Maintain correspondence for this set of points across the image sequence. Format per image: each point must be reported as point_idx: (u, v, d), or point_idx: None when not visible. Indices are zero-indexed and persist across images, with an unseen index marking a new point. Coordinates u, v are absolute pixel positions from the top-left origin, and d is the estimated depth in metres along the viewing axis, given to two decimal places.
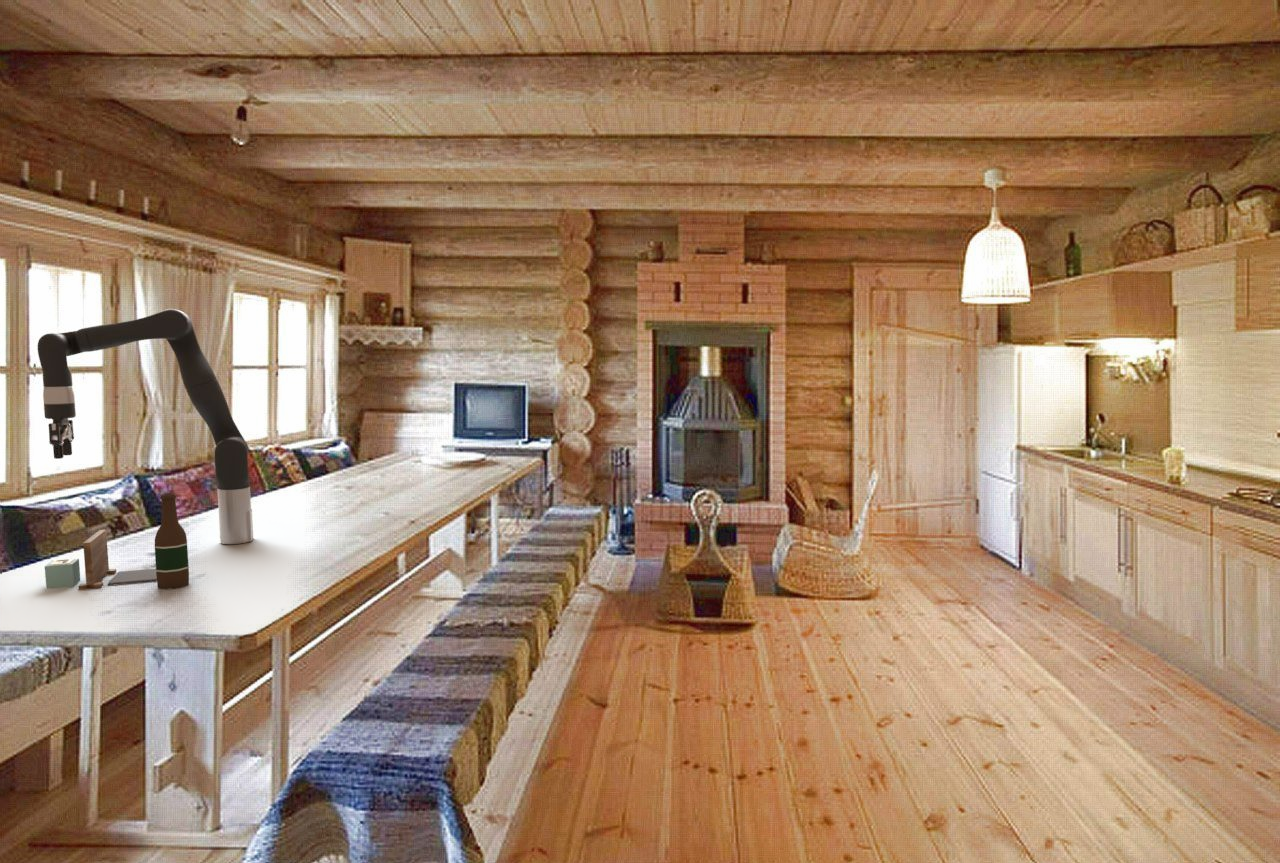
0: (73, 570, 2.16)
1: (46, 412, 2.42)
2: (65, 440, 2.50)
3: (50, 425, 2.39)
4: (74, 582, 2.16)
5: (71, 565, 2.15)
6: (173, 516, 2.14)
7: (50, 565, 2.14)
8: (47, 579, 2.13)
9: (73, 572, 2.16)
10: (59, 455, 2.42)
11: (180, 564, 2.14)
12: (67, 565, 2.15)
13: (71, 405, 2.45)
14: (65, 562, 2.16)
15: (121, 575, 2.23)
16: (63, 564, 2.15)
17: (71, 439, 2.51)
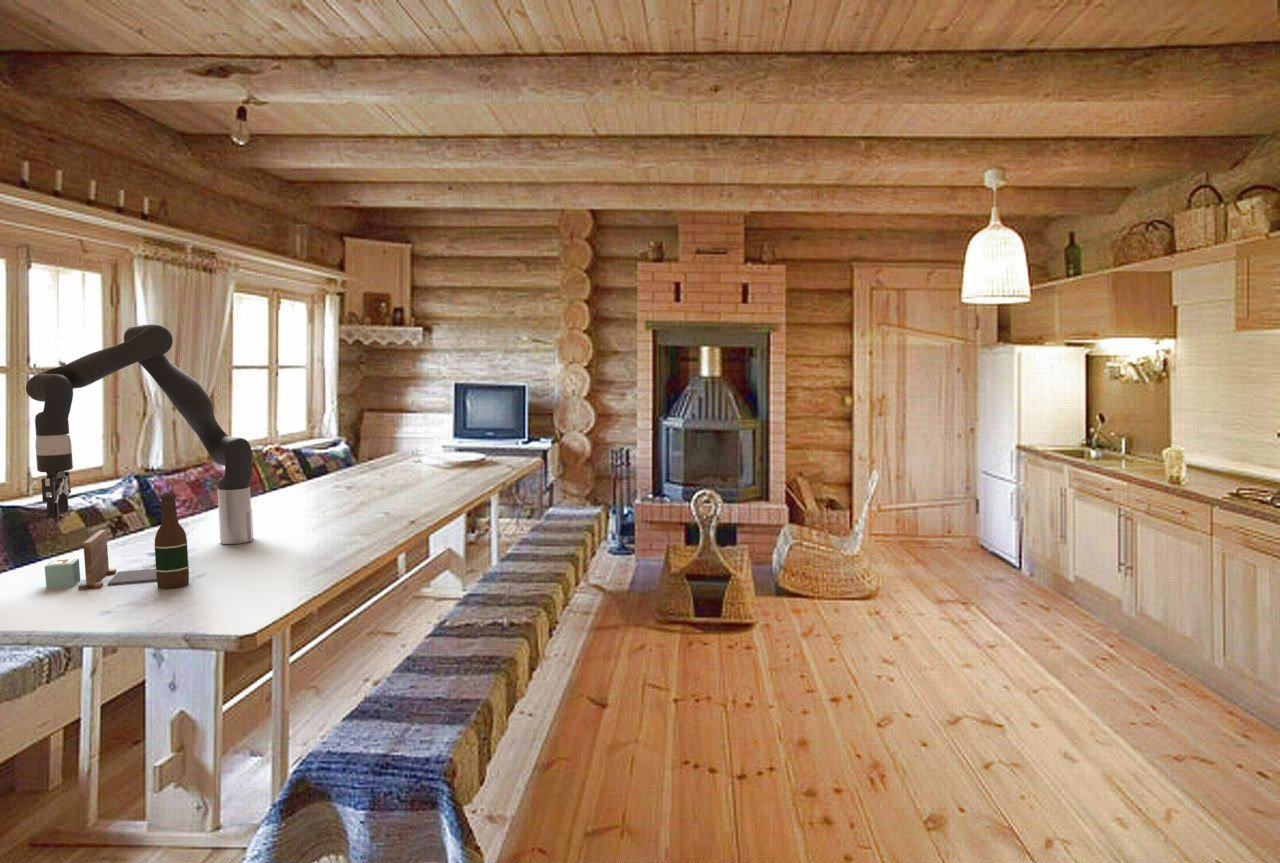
0: (73, 570, 2.16)
1: (39, 465, 2.11)
2: (61, 495, 2.19)
3: (43, 480, 2.08)
4: (74, 582, 2.16)
5: (71, 565, 2.15)
6: (173, 516, 2.14)
7: (50, 565, 2.14)
8: (47, 579, 2.13)
9: (73, 572, 2.16)
10: (54, 514, 2.11)
11: (180, 564, 2.14)
12: (67, 565, 2.15)
13: (68, 456, 2.14)
14: (65, 562, 2.16)
15: (121, 575, 2.23)
16: (63, 564, 2.15)
17: (68, 493, 2.20)
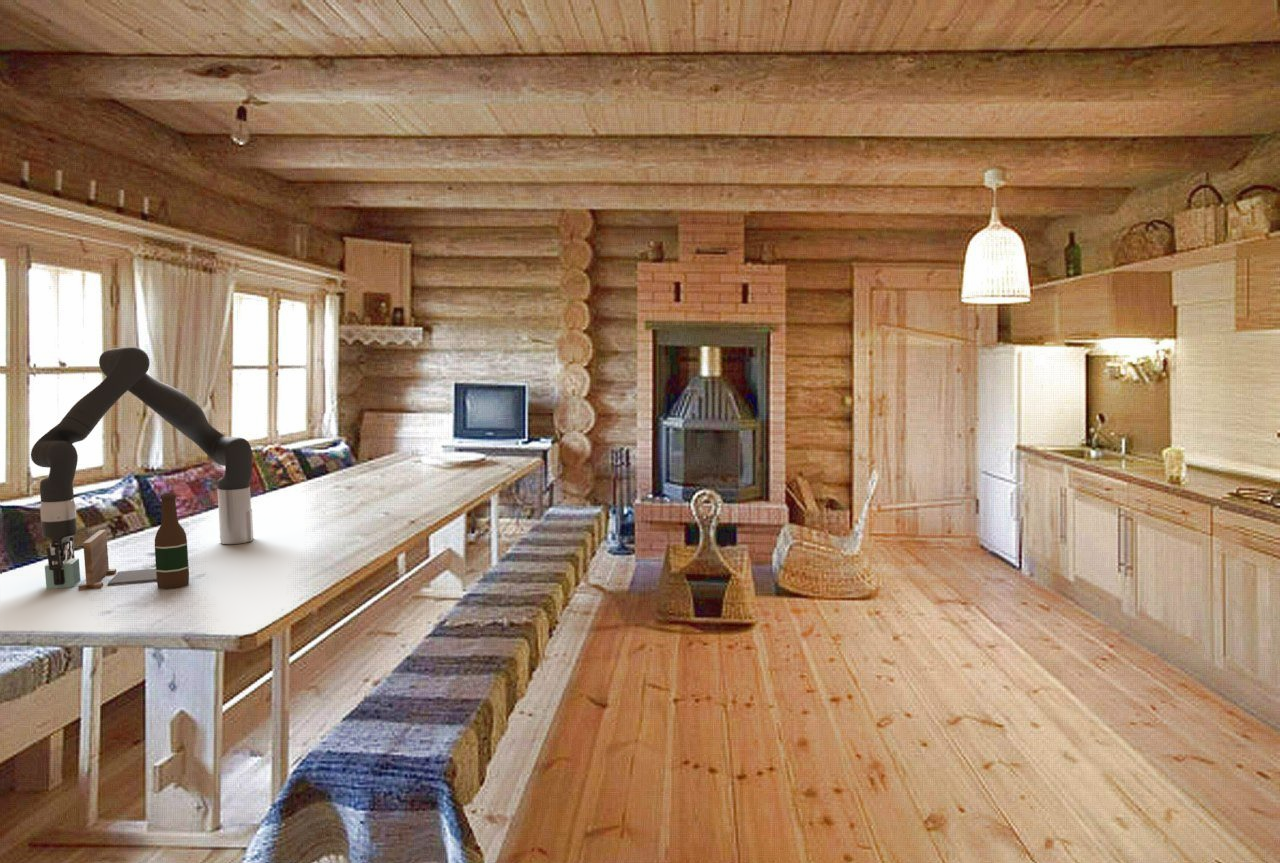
0: (73, 570, 2.16)
1: (44, 531, 2.12)
2: None
3: (48, 550, 2.10)
4: (74, 582, 2.16)
5: (71, 565, 2.15)
6: (173, 516, 2.14)
7: None
8: (47, 579, 2.13)
9: (73, 572, 2.16)
10: (60, 581, 2.13)
11: (180, 564, 2.14)
12: (67, 565, 2.14)
13: (72, 521, 2.15)
14: (65, 562, 2.16)
15: (121, 575, 2.23)
16: None
17: None
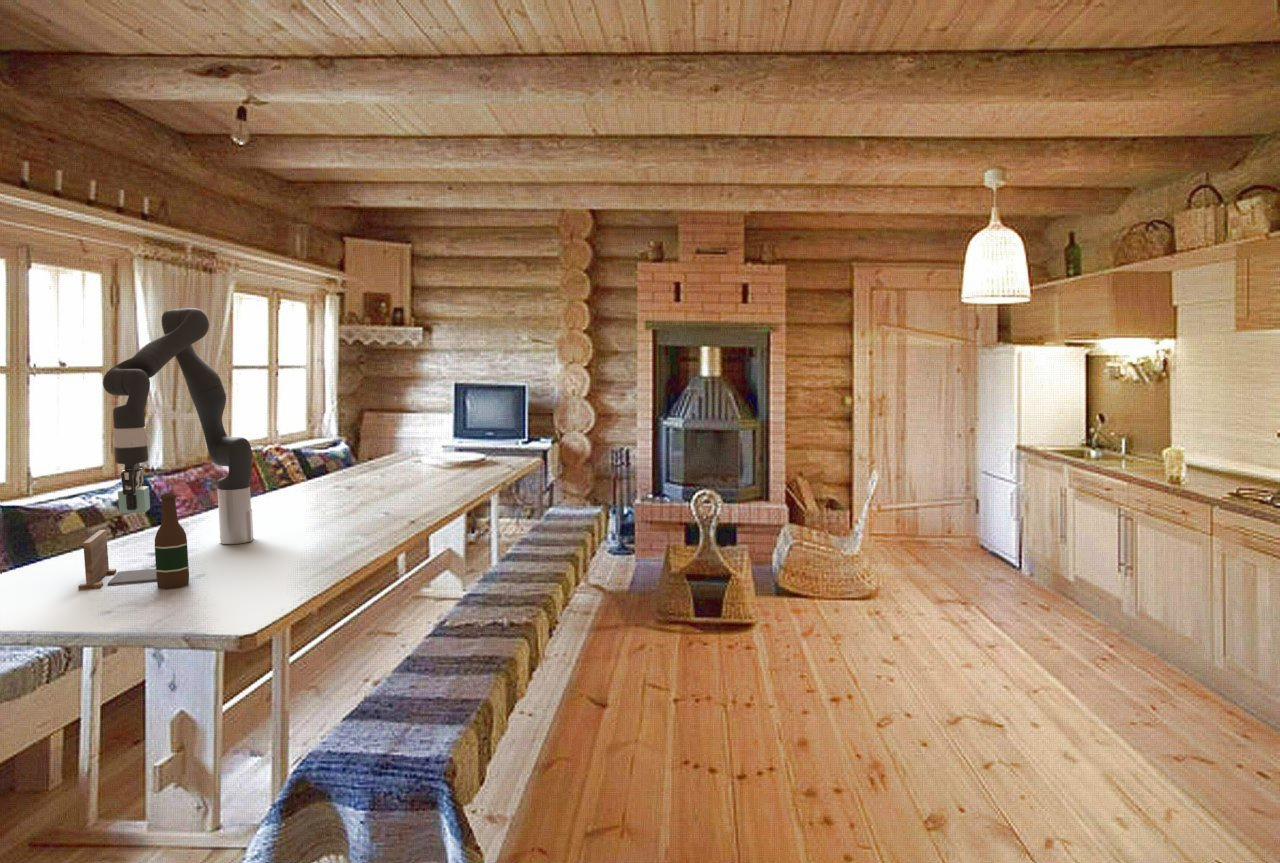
0: (145, 496, 2.21)
1: (117, 457, 2.17)
2: None
3: (123, 475, 2.15)
4: (145, 508, 2.21)
5: (143, 491, 2.20)
6: (173, 516, 2.14)
7: None
8: (120, 504, 2.18)
9: (145, 498, 2.21)
10: (133, 506, 2.18)
11: (180, 564, 2.14)
12: (139, 490, 2.19)
13: (144, 448, 2.20)
14: (137, 488, 2.21)
15: (121, 575, 2.23)
16: None
17: None
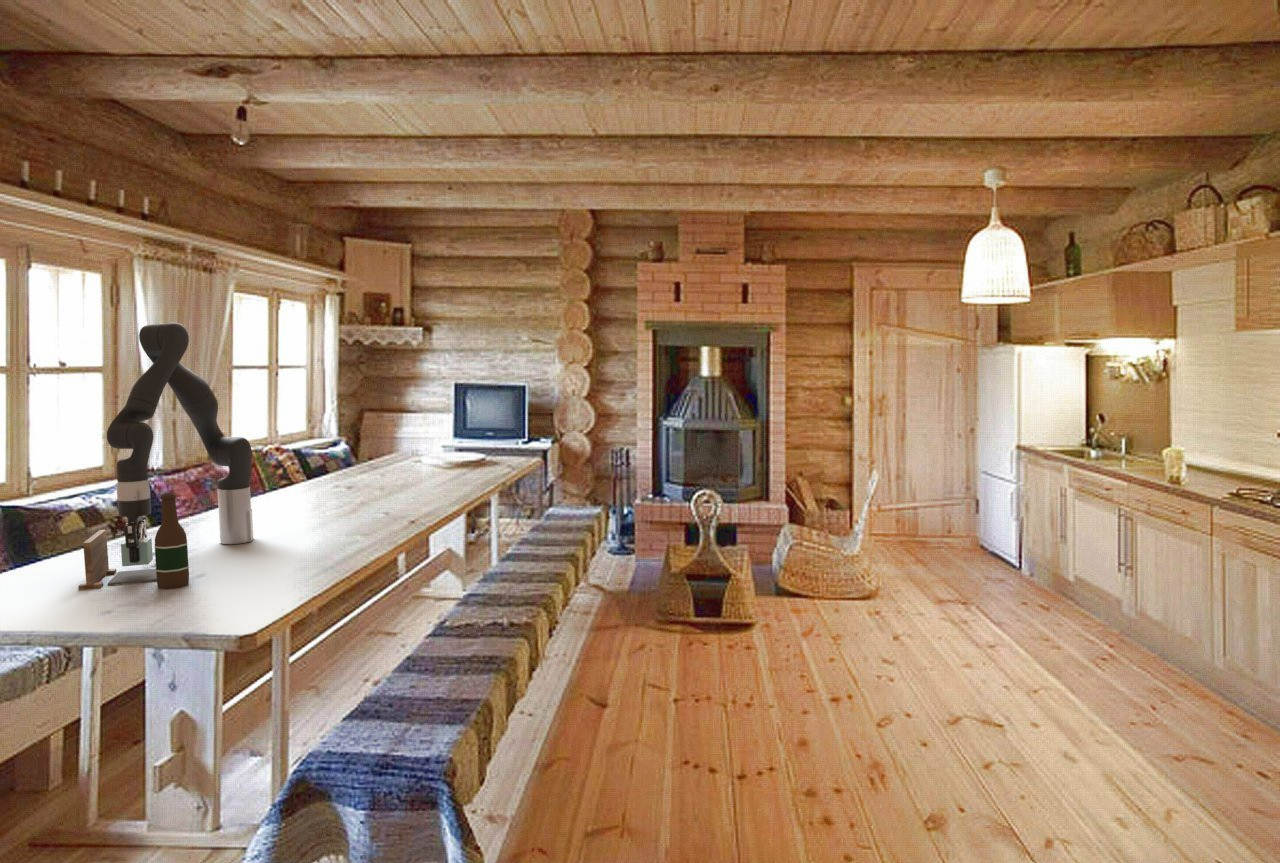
0: (147, 548, 2.22)
1: (120, 510, 2.19)
2: None
3: (126, 528, 2.16)
4: (148, 560, 2.22)
5: (146, 543, 2.21)
6: (173, 516, 2.14)
7: None
8: (123, 556, 2.19)
9: (147, 550, 2.22)
10: (135, 559, 2.19)
11: (180, 564, 2.14)
12: (142, 543, 2.21)
13: (147, 501, 2.22)
14: (140, 540, 2.22)
15: (121, 575, 2.23)
16: None
17: None
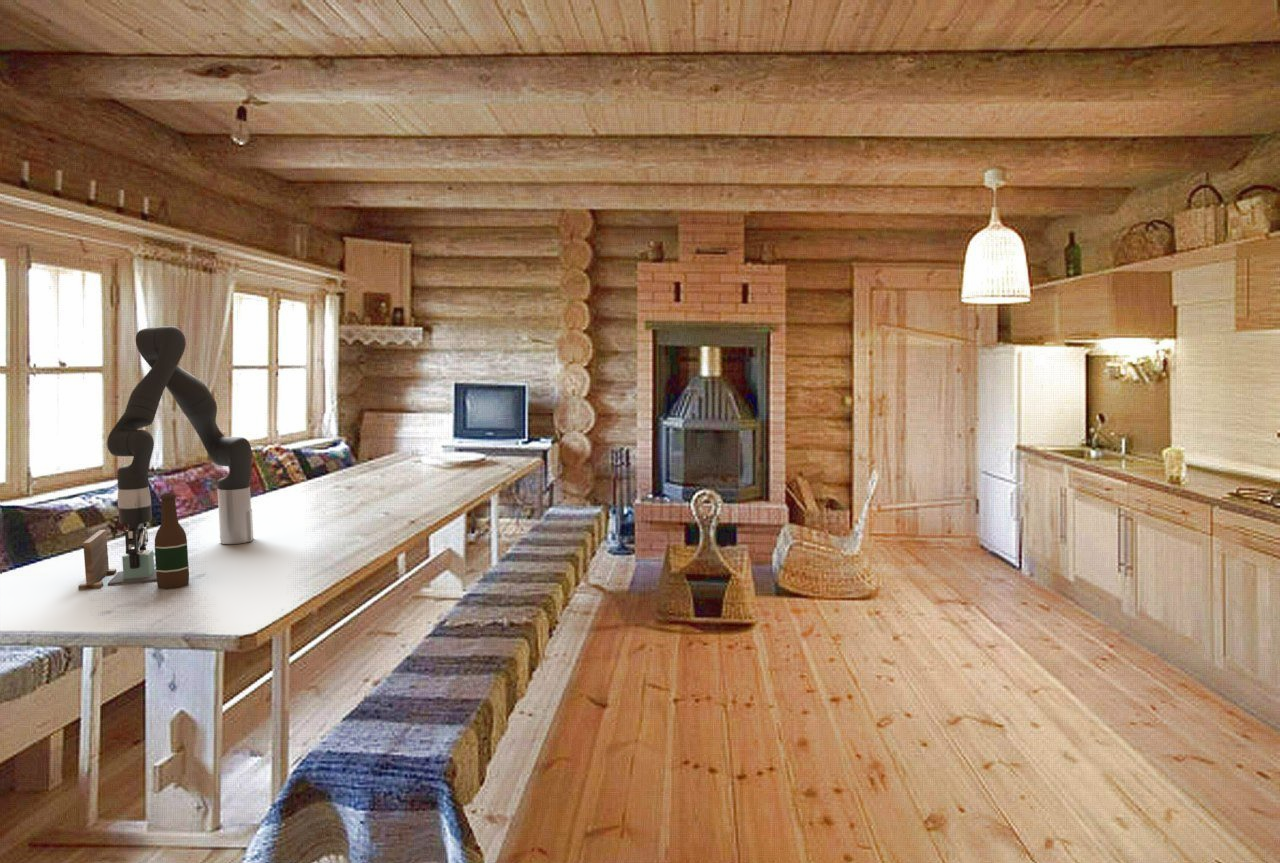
0: (149, 560, 2.22)
1: (121, 517, 2.19)
2: None
3: (126, 533, 2.16)
4: (149, 572, 2.23)
5: (147, 555, 2.22)
6: (173, 516, 2.14)
7: (127, 555, 2.20)
8: (124, 569, 2.20)
9: (149, 562, 2.22)
10: (135, 565, 2.19)
11: (180, 564, 2.14)
12: (143, 555, 2.21)
13: (148, 508, 2.22)
14: (141, 553, 2.22)
15: (121, 575, 2.23)
16: (139, 554, 2.21)
17: (146, 543, 2.28)
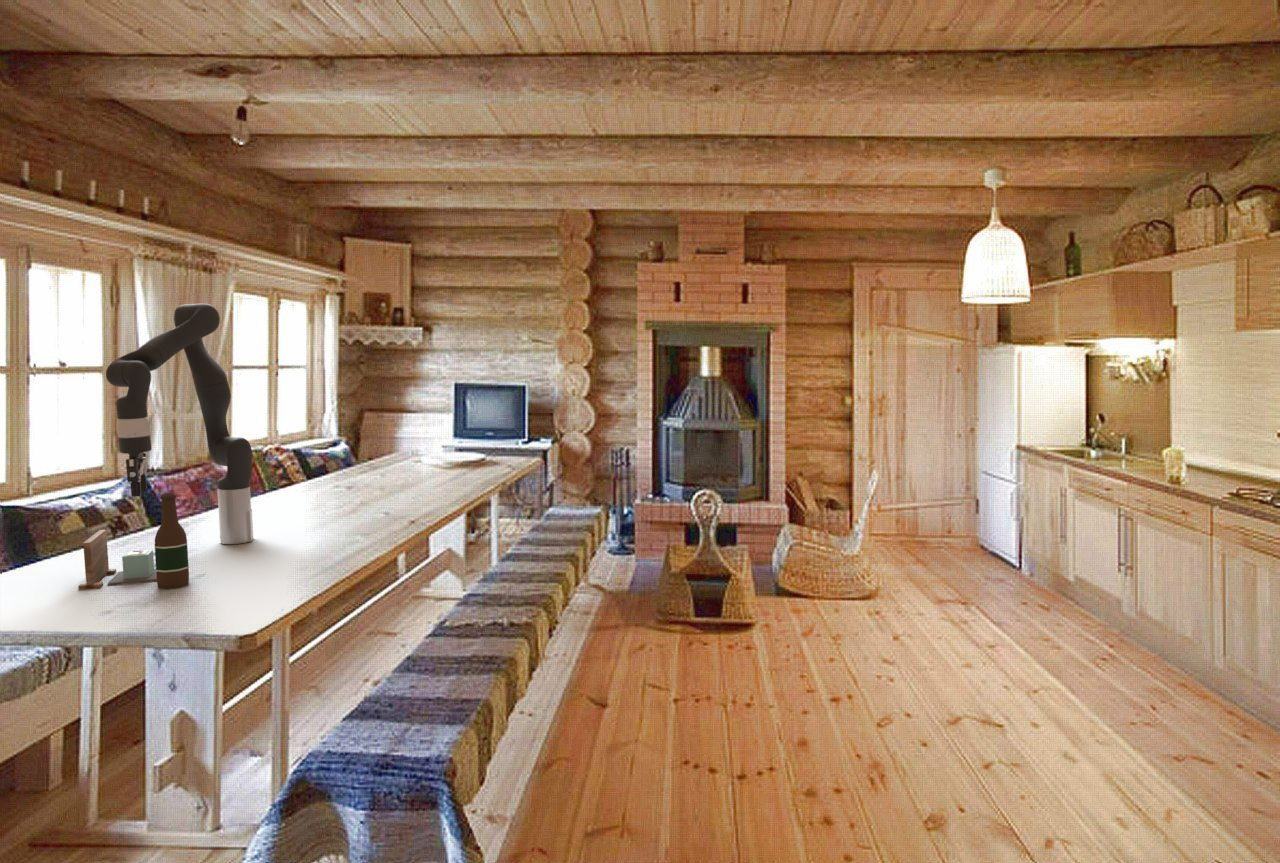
0: (149, 560, 2.22)
1: (121, 446, 2.23)
2: None
3: (127, 461, 2.21)
4: (149, 572, 2.23)
5: (147, 555, 2.22)
6: (173, 516, 2.14)
7: (127, 555, 2.20)
8: (124, 569, 2.20)
9: (149, 562, 2.22)
10: (137, 493, 2.24)
11: (180, 564, 2.14)
12: (143, 555, 2.21)
13: (147, 438, 2.26)
14: (141, 553, 2.22)
15: (121, 575, 2.23)
16: (139, 554, 2.21)
17: (146, 473, 2.32)
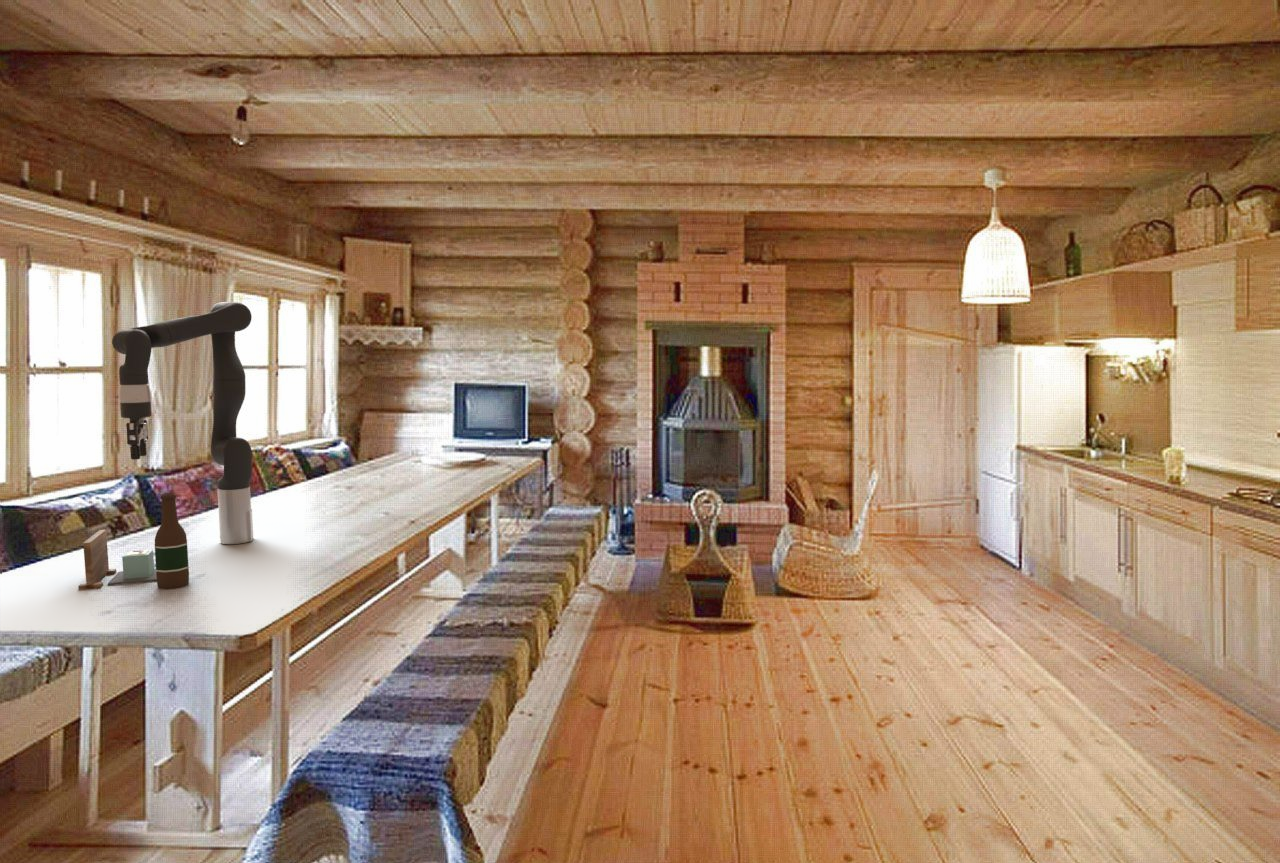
0: (149, 560, 2.22)
1: (123, 411, 2.33)
2: (140, 440, 2.41)
3: (128, 425, 2.30)
4: (149, 572, 2.23)
5: (147, 555, 2.22)
6: (173, 516, 2.14)
7: (127, 555, 2.20)
8: (124, 569, 2.20)
9: (149, 562, 2.22)
10: (136, 456, 2.33)
11: (180, 564, 2.14)
12: (143, 555, 2.21)
13: (148, 404, 2.36)
14: (141, 553, 2.22)
15: (121, 575, 2.23)
16: (139, 554, 2.21)
17: (146, 439, 2.42)
